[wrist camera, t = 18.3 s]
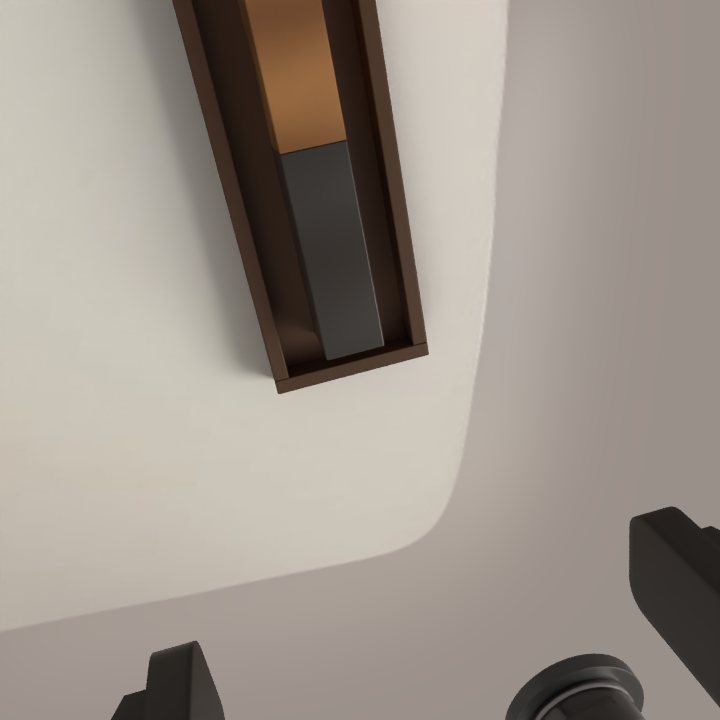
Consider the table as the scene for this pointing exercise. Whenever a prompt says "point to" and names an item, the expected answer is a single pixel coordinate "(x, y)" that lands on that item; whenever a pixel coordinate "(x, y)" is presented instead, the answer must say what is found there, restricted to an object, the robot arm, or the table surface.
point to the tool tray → (265, 198)
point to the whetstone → (314, 169)
